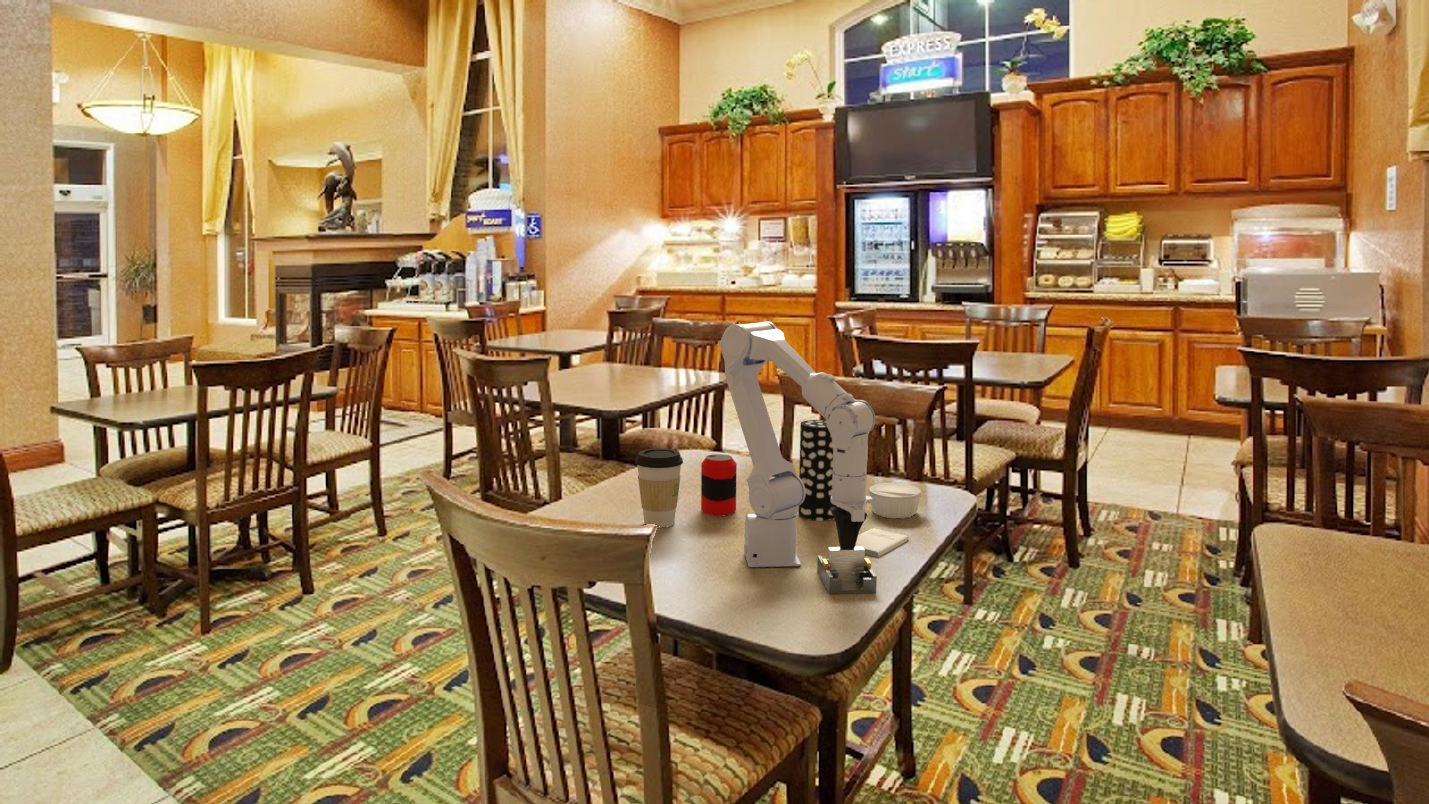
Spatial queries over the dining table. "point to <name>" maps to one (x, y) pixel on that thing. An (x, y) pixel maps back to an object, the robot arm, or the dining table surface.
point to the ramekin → (894, 499)
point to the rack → (839, 586)
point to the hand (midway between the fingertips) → (847, 549)
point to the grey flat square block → (846, 562)
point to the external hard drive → (879, 541)
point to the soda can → (718, 485)
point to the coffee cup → (659, 484)
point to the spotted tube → (816, 470)
